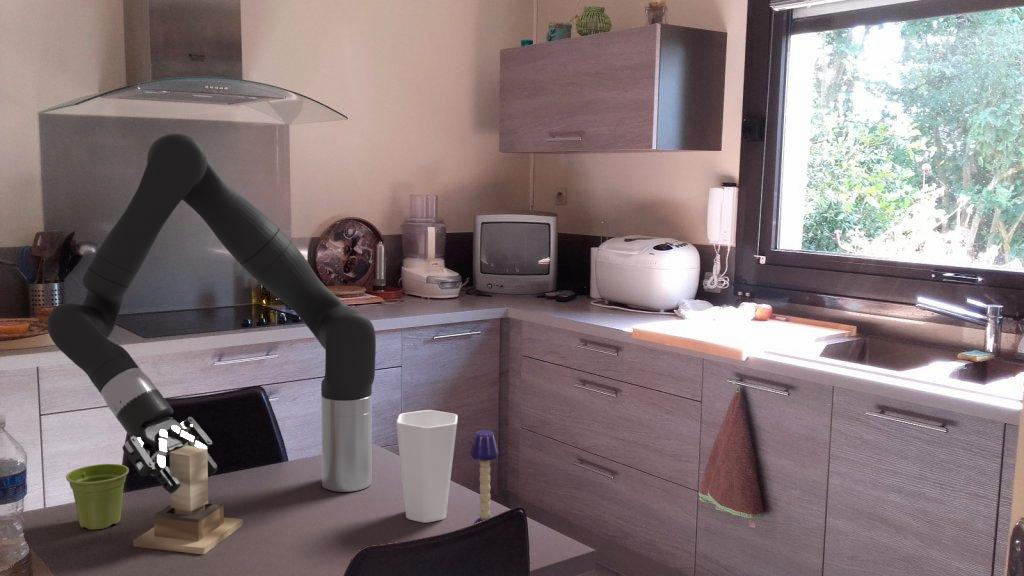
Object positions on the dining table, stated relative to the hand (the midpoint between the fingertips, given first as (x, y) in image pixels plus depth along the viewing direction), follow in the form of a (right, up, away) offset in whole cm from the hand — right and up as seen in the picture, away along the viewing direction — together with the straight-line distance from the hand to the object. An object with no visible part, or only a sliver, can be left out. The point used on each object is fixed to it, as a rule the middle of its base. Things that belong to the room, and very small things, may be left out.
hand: (195, 481), depth 143 cm
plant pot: (-18, -8, +6) cm, 21 cm away
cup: (+35, -9, +12) cm, 39 cm away
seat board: (-1, -9, +2) cm, 9 cm away
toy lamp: (+45, -10, +6) cm, 47 cm away
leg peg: (-1, -8, +2) cm, 8 cm away
